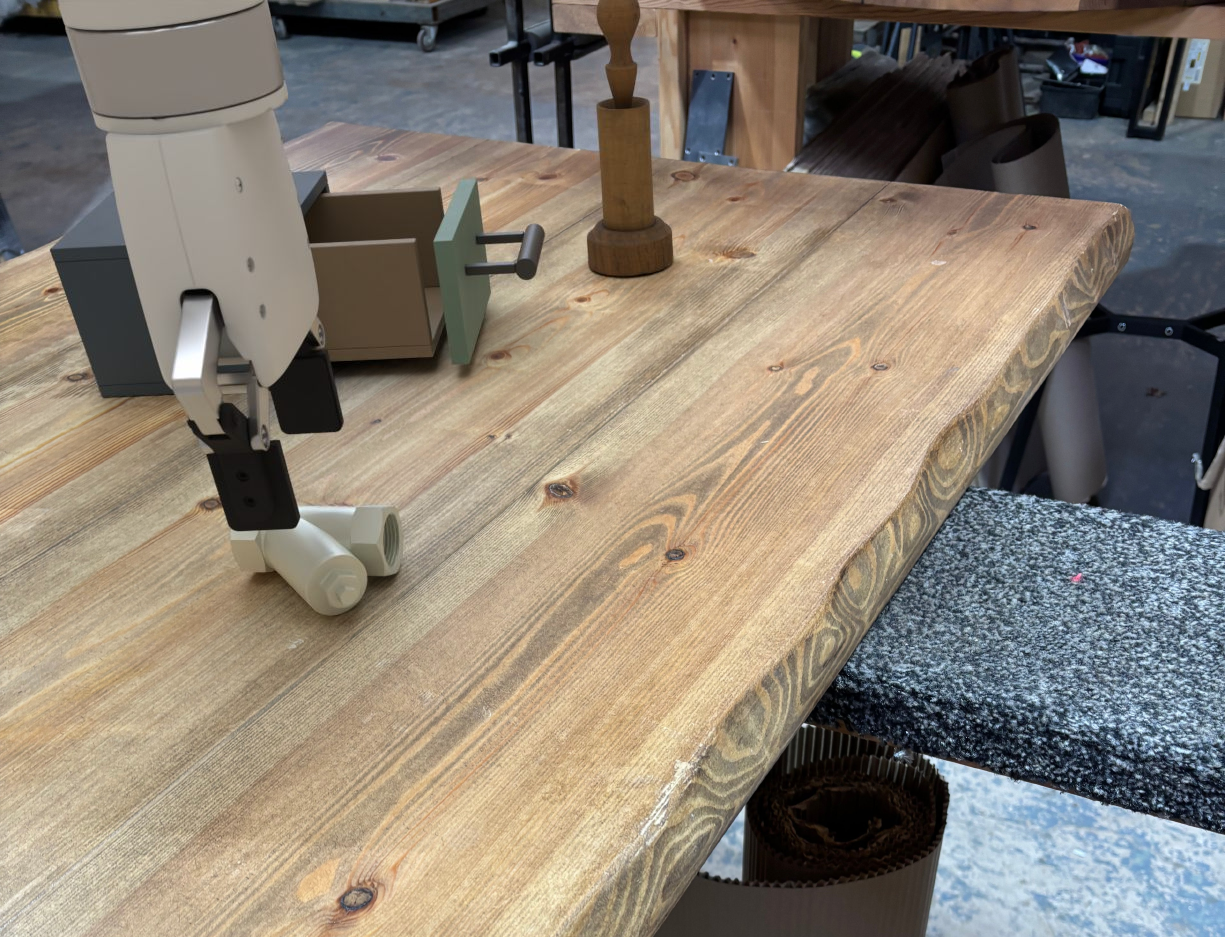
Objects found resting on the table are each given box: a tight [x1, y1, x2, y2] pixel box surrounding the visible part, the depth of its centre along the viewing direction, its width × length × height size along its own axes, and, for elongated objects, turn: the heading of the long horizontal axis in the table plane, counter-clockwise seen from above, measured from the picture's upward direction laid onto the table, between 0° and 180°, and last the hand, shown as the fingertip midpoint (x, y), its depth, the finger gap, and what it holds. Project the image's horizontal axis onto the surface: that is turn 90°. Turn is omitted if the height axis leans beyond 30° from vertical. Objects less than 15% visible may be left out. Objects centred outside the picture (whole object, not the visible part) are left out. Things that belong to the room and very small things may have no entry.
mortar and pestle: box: [586, 0, 674, 277], centre depth 90 cm, size 7×6×18 cm
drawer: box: [303, 178, 546, 366], centre depth 84 cm, size 18×13×8 cm
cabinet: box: [49, 169, 331, 398], centre depth 84 cm, size 15×14×10 cm
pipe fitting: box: [229, 504, 404, 616], centre depth 62 cm, size 8×4×7 cm
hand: (291, 476), depth 59 cm, fingers open, 9 cm apart
